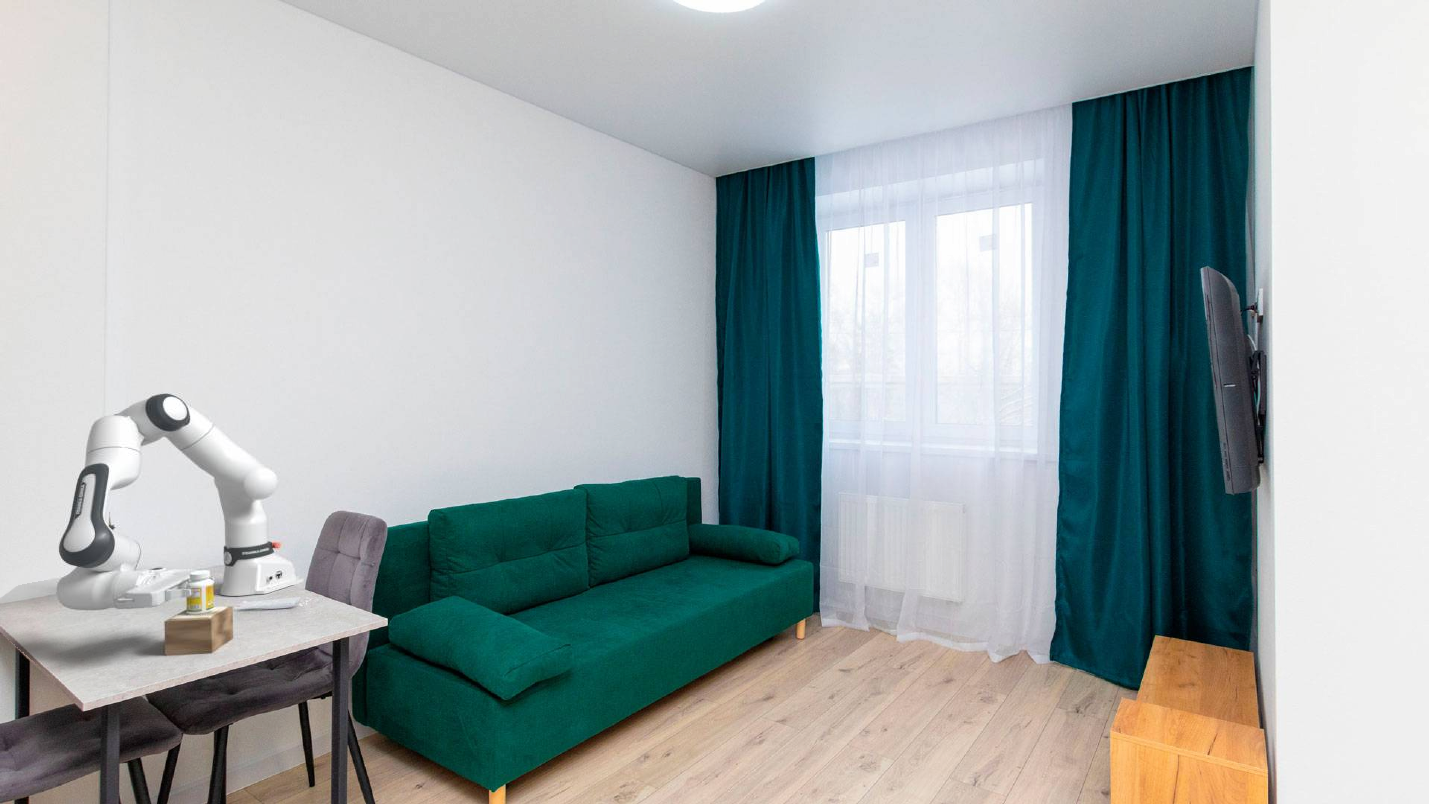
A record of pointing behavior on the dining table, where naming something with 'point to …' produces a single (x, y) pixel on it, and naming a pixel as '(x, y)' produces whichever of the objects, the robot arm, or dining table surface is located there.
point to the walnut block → (198, 631)
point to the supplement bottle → (200, 593)
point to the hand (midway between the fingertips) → (202, 586)
